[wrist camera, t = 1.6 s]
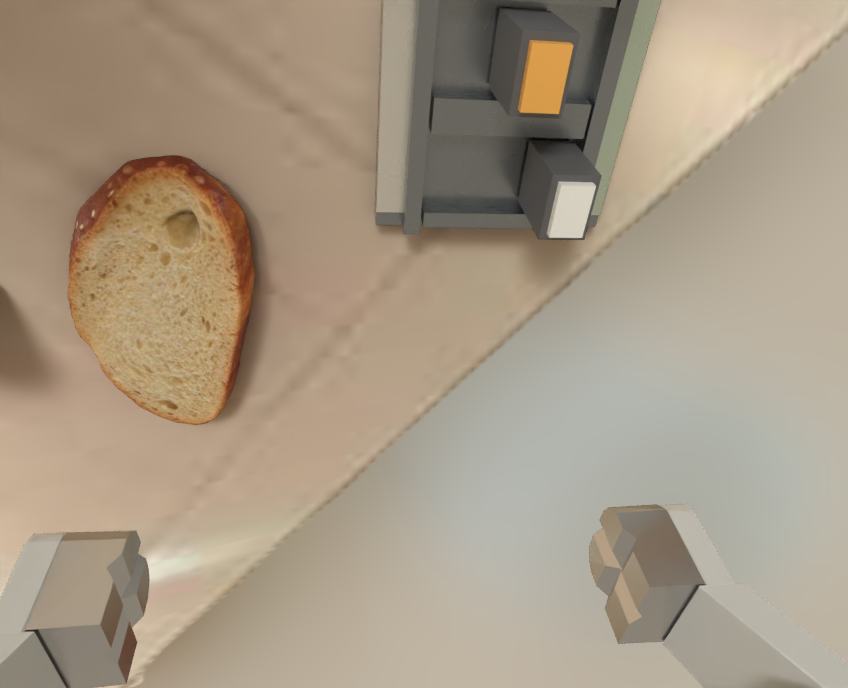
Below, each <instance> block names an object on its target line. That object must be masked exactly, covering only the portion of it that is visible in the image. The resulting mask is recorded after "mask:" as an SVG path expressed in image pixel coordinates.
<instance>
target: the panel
mask: <svg viewBox="0 0 848 688" xmlns="http://www.w3.org/2000/svg"><path fill="white" fill-rule="evenodd" d="M660 2H661V0H382V6H381V37H380V68H379V99H378V129H377V160H376V191H375V222H376V225H402V228H403V233H404V234H419V232H420V225H423V227H443V228H532V226H531V224H530V222H529V221H528V219H527V217H526V215H525V213H524V211H523V209H522V208H521V206H520V204H519V202H518V198H519V192H520V187H521V182H522V177H523V171H524V166H525V161H526V155H527V150H528V145H529V140H547V141H574V143H575V144H576V145H577V146H578V147H579V149H580V150H581V151H582V152H583V154H584V155H585V156H586V157H587V158H588V160H589V161H590V162H591V163H592V164H593V166H594V167H595V168H596V169H597V170H598V172H599V173H600V174H601V175H602V177H601V180H600V184H599V188H598V191H597V195H596V199H595V202H594V206H593V210H592V213H591V217H590V220H589V224H588V227H595V225H596V222H597V218H598V215H600V213H601V209H602V206H603V202H604V199H605V195H606V192H607V188H608V184H609V181H610V177H611V174H612V170H613V167H614V163H615V160H616V156H617V153H618V149H619V146H620V142H621V139H622V135H623V132H624V128H625V125H626V121H627V118H628V114H629V111H630V107H631V104H632V100H633V97H634V93H635V90H636V86H637V83H638V79H639V76H640V72H641V69H642V65H643V62H644V58H645V55H646V51H647V48H648V44H649V41H650V37H651V34H652V30H653V26H654V23H655V19H656V16H657V12H658V9H659V5H660ZM499 8H513V9H529V10H544V11H551V12H552V13H554V14H555V15H556V16H558V17H559V18H560V19H562V20H563V21H564V22H566V23H567V24H568V25H570V26H571V27H572V28H573V29H575V30H576V31H577V32H579V33H580V37H579V42H578V46H577V51H576V56H575V60H574V65H573V69H572V74H571V78H570V83H569V88H568V92H567V97H566V101H565V106H564V111H563V115H562V119H552V118H526V117H509V116H508V115H507V113H506V112H505V110H504V109H503V107H502V106H501V104H500V103H499V101H498V100H497V98H496V97H495V95H494V94H493V92H492V91H491V89H490V88H489V79H490V72H491V64H492V57H493V50H494V43H495V36H496V29H497V21H498V14H499Z"/></svg>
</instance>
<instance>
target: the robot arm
mask: <svg viewBox="0 0 848 688" xmlns="http://www.w3.org/2000/svg"><path fill="white" fill-rule="evenodd" d="M600 522H601V525H602V527H603V528H602V529H601V530H599V531H598V532H597V533H595V534H594V535H593V537H592V540H591V543H590V546H589V562H590V567H591V572H592V575H593V578H594V580H595V583H596V586H597V587H599V588H600V589H601V590H602V591H603V592H604V593H605V594H606V595H608V596H609V597H608V600H607V603H606V606H605V610H606V613H607V615H608V618H609V621H610V623H611V625H612V628H613V631H614V634H615V636H616V639H617V641H618V644H625V643H644V642H662V641H664V642H663V645H664V646H665V647H666V648H667V649H668V650H669V651H670V652H671V654H672V655H673V656H674V657H675V658H676V659H677V660H678V661H679V662H680V663H681V664H682V665H683V666H684V667H685V668H686V669H687V670H688V672H690V674H692V676H693V677H694V678H695V679H696V680H697V681H698V682H699V683H700V684H701V685H702V686H703V687H704V688H848V663H847V662H846V661H845V660H843V659H842V658H841V657H839V656H838V655H837V654H835V653H834V652H833V651H831V650H830V649H829V648H828V647H826V646H825V645H824V644H822V643H821V642H820V641H818V640H817V639H816V638H814V637H813V636H812V635H810V634H809V633H808V632H806V631H805V630H804V629H803V628H801V627H800V626H799V625H797V624H796V623H795V622H793V621H792V620H791V619H789V618H788V617H786V616H785V615H784V614H783V613H781V612H780V611H779V610H778V609H776V608H775V607H773V606H772V605H771V604H770V603H768V602H767V601H766V600H764V599H763V598H762V597H760V596H759V595H758V594H756V593H755V592H754V591H752V590H751V589H750V588H748V587H747V586H746V585H745V584H743V583H735V582H734V581H733V579H732V577H731V575H730V574H729V572H728V570H727V569H726V567H725V565H724V564H723V562H722V560H721V558H720V557H719V555H718V553H717V551H716V550H715V548H714V546H713V544H712V543H711V541H710V539H709V537H708V536H707V534H706V532H705V531H704V529H703V527H702V525H701V524H700V522H699V520H698V518H697V517H696V515H695V513H694V512H693V511H692V509H691V508H690V507H689V506H688V505H686V504H674V505H673V504H672V505H642V506H626V507H611V508H607V509H606V510H605V511H603V514H602V516H601V518H600ZM140 543H141V542H140V539H139V537H138V534H137V531H104V532H71V533H70V532H64V533H42V534H33V535H32V536H31V537H30V539H29V540H28V541H27V542H26V543H25V544H24V546H23V549H22V551H21V553H20V555H19V557H18V560H17V562H16V564H15V566H14V568H13V571H12V573H11V575H10V577H9V579H8V582H7V584H6V586H5V588H4V590H3V592H2V595H1V597H0V688H94V687H104V686H113V685H122V684H127V680H128V676H129V672H130V668H131V664H132V660H133V656H134V652H135V649H136V645H137V641H136V638H135V635H134V632H133V630H132V627H133V626H134V625H135V624H136V623H137V622H138V621H139V620H140V619H141V618H142V617H143V616H144V612H145V608H146V604H147V599H148V590H149V569H148V565H147V561H146V558H144V557H142V556H141V555H139V554H138V551H139V547H140Z"/></svg>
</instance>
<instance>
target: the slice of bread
mask: <svg viewBox="0 0 848 688" xmlns="http://www.w3.org/2000/svg"><path fill="white" fill-rule="evenodd" d="M254 279H255V269H254V265H253V263H252V257H251V242H250V234H249V229H248V224H247V221H246V218H245V215H244V213H243V211H242V209H241V208H240V206H239V205H238V203H237V202H236V200H235V199H234V198H233V196H232V195H231V194H230V193H229V192H228V191H227V189H226V188H225V187H224V186H223V185H222V184H221V183H220V182H219V181H217V180H216V179H215V178H214V177H212V176H211V175H209V174H208V173H206V172H205V171H203V170H202V169H201V168H200V167H199V166H198V165H197V164H196V163H195V162H194V161H192V160H190V159H188V158H186V157H182V156H162V157H150V158H142V159H136V160H132V161H129V162H127V163H126V164H124V165H123V166H122V167H121V168H120V169H119V170H118V171H117V172H116V173H115V174H114V175H112V176H111V177H110V178H109V179H108V180H107V181H106V182H105V184H104V185H103V186H102V187H101V188H100V189H99V190H98V191H97V192H96V193H95V194H94V195H93V196H91V197H90V198H89V199H88V201H87V202H86V203H85V204H84V205H83V206H82V207H81V209H80V210H79V213H78V215H77V219H76V223H75V230H74V233H73V236H72V240H71V249H70V255H69V287H68V299H69V302H70V309H71V314H72V317H73V320H74V323H75V327H76V329H77V331H78V333H79V335H80V336H81V337H82V338H83V339H84V340H85V341H86V342H87V343H88V344H89V345H90V346H91V347H92V348H93V350H94V352H95V354H96V356H97V357H98V359H99V361H100V365H101V368H102V370H103V372H104V373H105V374H106V376H107V377H108V378H109V379H110V380H111V381H112V382H113V384H114V385H115V386H116V387H117V388H118V389H119V390H121V391H122V392H123V393H124V394H126V395H127V396H128V397H129V398H130V399H132V400H133V401H134V402H135V403H136V404H137V405H139V406H140V407H141V408H143V409H145V410H148V411H150V412H151V413H153V414H156V415H158V416H160V417H163V418H166V419H168V420H171V421H173V422H178V423H188V424H194V425H199V424H204V423H208V422H210V421H211V420H213V419H214V418H216V417H217V415H218V414H219V413H220V412H221V410H222V409H223V408H224V406H225V405H226V402H227V400H228V398H229V396H230V395H231V392H232V390H233V387H234V383H235V380H236V376H237V372H238V368H239V363H240V355H241V351H242V347H243V343H244V338H245V333H246V328H247V325H248V321H249V316H250V310H251V303H252V295H253V286H254Z"/></svg>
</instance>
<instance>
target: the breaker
mask: <svg viewBox="0 0 848 688" xmlns="http://www.w3.org/2000/svg"><path fill="white" fill-rule="evenodd" d="M601 177H602V175H601V174H600V173H599V172H598V170H597V169H596V168H595V167H594V166H593V164H592V163H591V162H590V161H589V160H588V158H587V157H586V156H585V155H584V154H583V152H582V151H581V150H580V149H579V147H578V146H577V145H576V144H575V143H574V141H547V140H529V145H528V150H527V155H526V161H525V166H524V171H523V177H522V182H521V187H520V192H519V198H518V202H519V204H520V206H521V208H522V209H523V211H524V213H525V215H526V217H527V219H528V221H529V222H530V224H531V226H532V228H533V230H534V232H535V234H536V235H537V237H538V239H548V240H584V239H585V235H586V231H587V228H588V224H589V220H590V217H591V213H592V210H593V206H594V202H595V199H596V195H597V191H598V188H599V184H600V180H601Z"/></svg>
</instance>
